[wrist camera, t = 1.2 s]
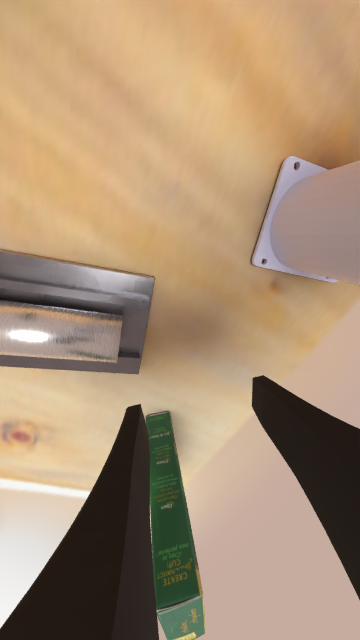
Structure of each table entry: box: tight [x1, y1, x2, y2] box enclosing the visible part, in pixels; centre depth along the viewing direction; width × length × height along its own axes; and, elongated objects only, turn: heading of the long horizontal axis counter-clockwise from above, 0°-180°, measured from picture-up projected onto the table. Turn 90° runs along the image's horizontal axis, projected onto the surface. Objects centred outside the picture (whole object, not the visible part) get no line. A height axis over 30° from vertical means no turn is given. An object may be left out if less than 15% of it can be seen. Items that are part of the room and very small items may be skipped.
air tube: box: [0, 300, 123, 363], centre depth 14 cm, size 13×4×4 cm, turn 78°
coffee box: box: [146, 412, 205, 640], centre depth 19 cm, size 8×3×13 cm, turn 4°
